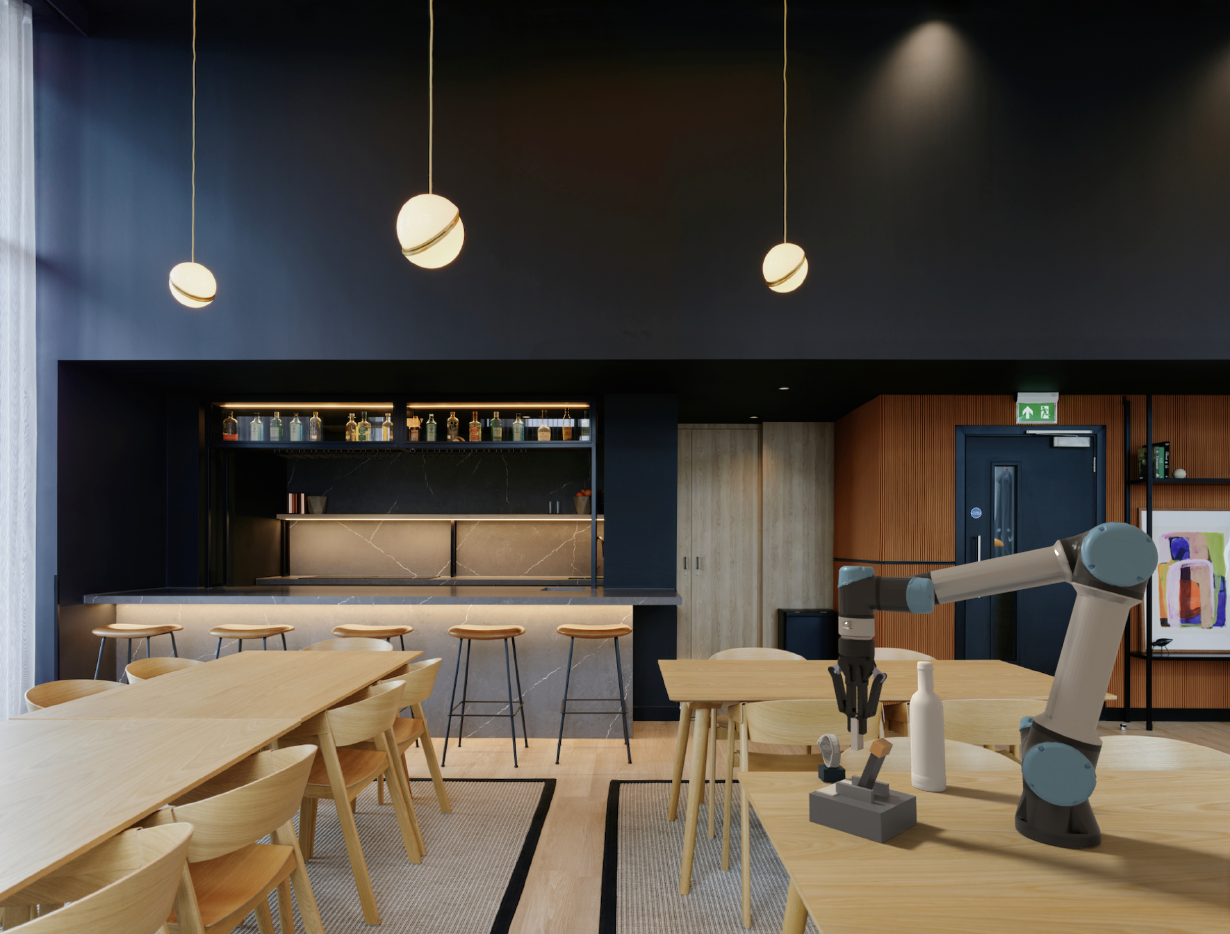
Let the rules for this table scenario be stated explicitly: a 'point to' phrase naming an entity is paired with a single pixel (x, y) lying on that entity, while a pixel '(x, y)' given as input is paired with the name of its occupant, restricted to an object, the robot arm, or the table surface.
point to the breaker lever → (874, 762)
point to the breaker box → (863, 809)
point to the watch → (830, 759)
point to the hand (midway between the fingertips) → (857, 748)
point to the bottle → (927, 734)
